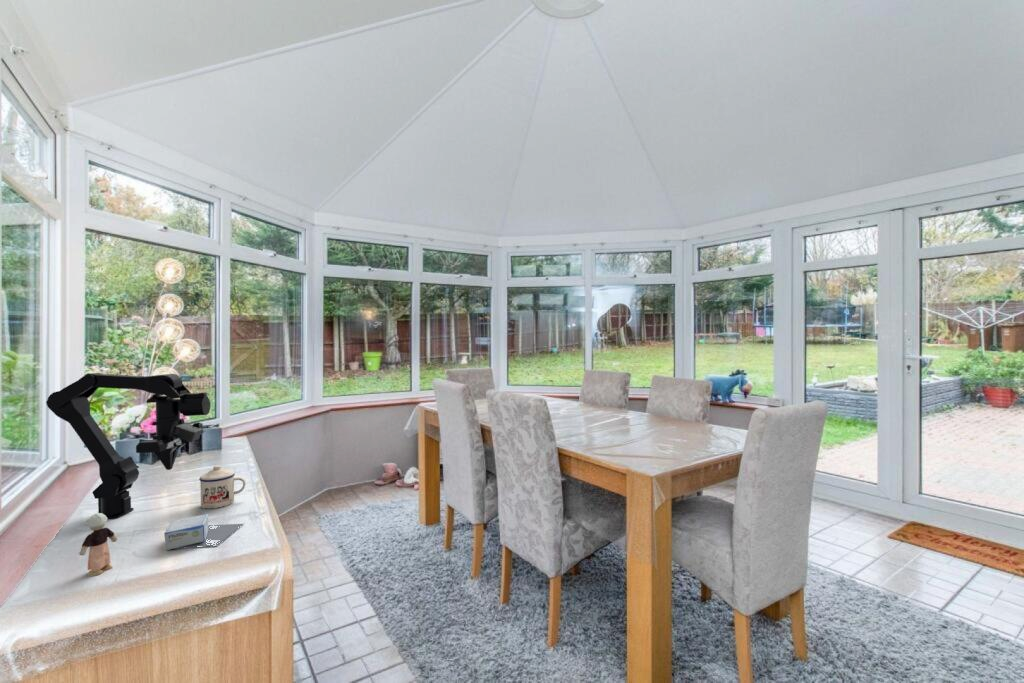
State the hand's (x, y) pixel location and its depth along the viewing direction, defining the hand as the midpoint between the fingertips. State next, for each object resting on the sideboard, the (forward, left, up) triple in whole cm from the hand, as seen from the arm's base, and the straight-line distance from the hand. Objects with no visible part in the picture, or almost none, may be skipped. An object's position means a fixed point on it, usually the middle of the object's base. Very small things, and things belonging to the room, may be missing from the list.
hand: (169, 469), depth 136 cm
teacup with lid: (+13, +4, -12) cm, 18 cm away
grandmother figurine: (+8, -37, -12) cm, 40 cm away
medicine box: (+17, -19, -10) cm, 27 cm away
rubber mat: (+23, -20, -12) cm, 33 cm away
